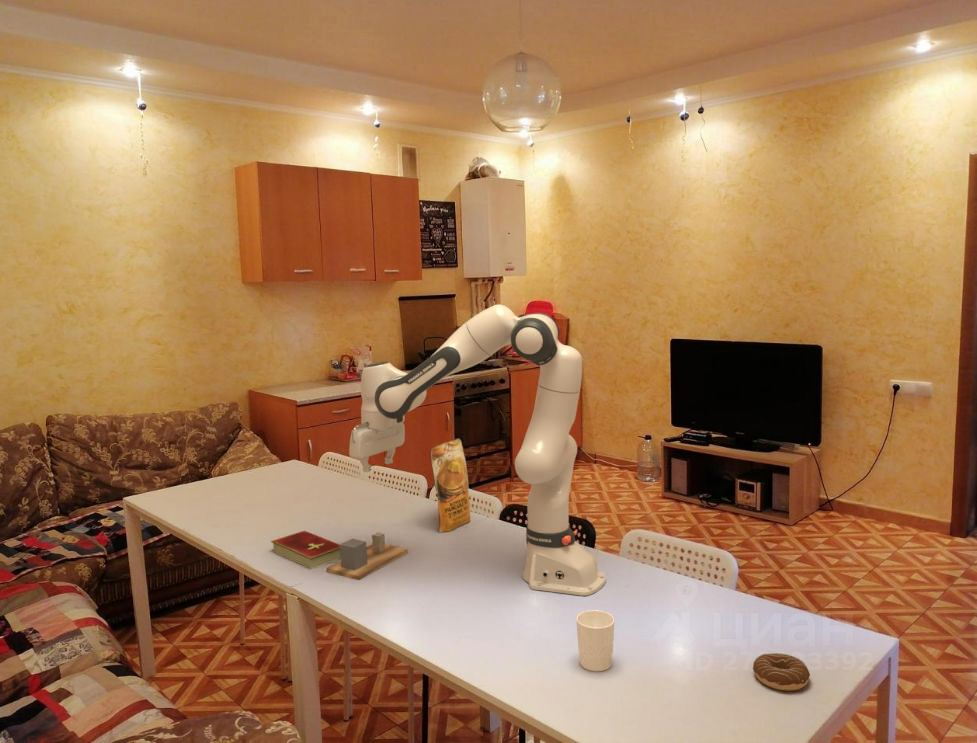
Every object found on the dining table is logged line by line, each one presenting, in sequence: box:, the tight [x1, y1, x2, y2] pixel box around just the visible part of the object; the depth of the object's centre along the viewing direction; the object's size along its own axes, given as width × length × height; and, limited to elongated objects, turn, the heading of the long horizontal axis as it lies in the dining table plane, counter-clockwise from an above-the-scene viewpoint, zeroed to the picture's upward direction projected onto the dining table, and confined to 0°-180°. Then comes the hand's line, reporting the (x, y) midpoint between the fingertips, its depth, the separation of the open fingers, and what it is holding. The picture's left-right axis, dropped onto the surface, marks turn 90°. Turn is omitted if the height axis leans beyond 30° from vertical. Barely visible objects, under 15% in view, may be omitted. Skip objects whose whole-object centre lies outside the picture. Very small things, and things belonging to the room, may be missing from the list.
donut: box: [752, 652, 811, 692], centre depth 145 cm, size 11×11×4 cm
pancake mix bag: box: [429, 437, 471, 534], centre depth 237 cm, size 7×19×28 cm, turn 144°
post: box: [371, 532, 386, 554], centre depth 214 cm, size 3×3×6 cm
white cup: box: [576, 609, 615, 672], centre depth 153 cm, size 8×8×10 cm
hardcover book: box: [270, 530, 341, 570], centre depth 217 cm, size 12×21×4 cm, turn 47°
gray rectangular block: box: [339, 538, 368, 570], centre depth 205 cm, size 5×5×7 cm
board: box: [326, 543, 409, 581], centre depth 210 cm, size 12×22×1 cm, turn 149°
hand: (378, 467), depth 204 cm, fingers open, 8 cm apart
